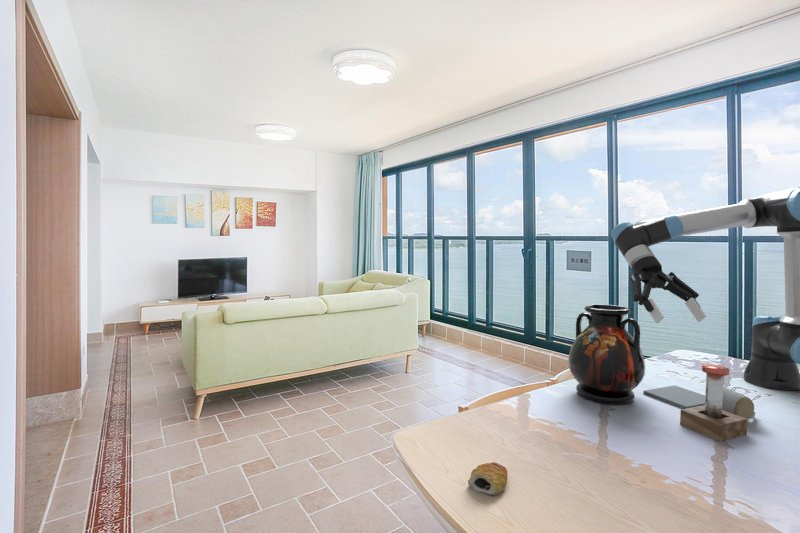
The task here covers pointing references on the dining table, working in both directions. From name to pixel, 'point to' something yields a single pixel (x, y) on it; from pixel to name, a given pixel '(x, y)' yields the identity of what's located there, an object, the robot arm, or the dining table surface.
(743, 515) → the dining table surface
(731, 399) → the ceramic mug
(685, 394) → the mat
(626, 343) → the amphora vase
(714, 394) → the red-capped mushroom
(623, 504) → the dining table surface
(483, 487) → the pastry
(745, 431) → the eye block
